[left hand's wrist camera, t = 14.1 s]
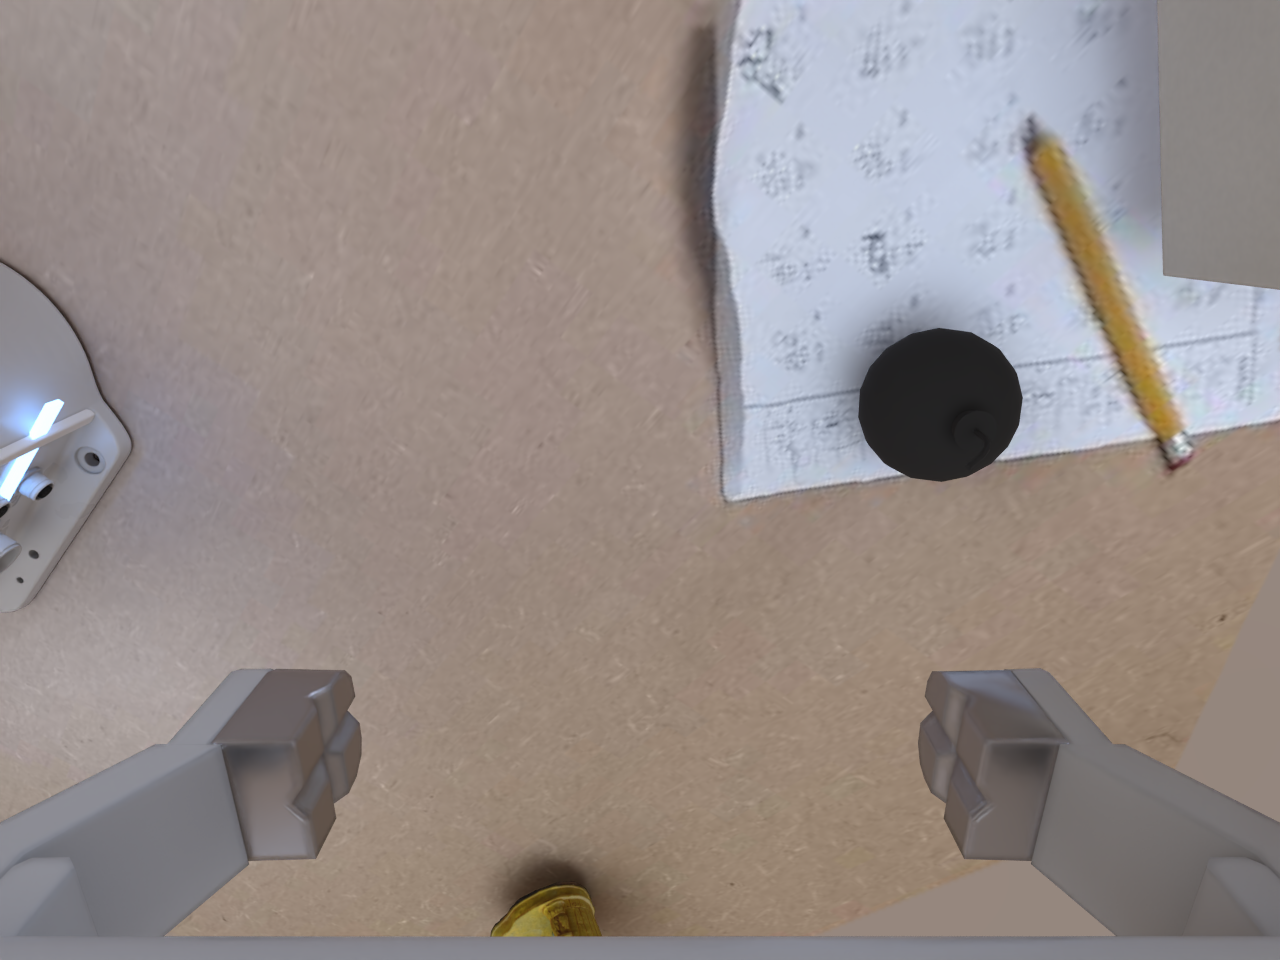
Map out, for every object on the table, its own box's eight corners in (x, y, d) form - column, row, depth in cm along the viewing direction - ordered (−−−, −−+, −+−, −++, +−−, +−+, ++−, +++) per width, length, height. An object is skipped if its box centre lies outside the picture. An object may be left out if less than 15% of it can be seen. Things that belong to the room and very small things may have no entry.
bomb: (961, 295, 41) (1084, 330, 29) (994, 424, 43) (1119, 502, 32) (824, 350, 42) (892, 403, 30) (864, 473, 44) (941, 564, 33)
